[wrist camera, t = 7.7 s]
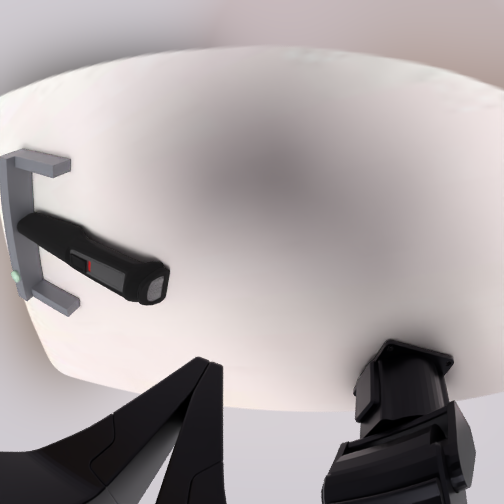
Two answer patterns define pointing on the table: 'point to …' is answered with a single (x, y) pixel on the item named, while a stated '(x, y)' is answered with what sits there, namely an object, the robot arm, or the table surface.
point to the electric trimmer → (97, 259)
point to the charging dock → (17, 207)
